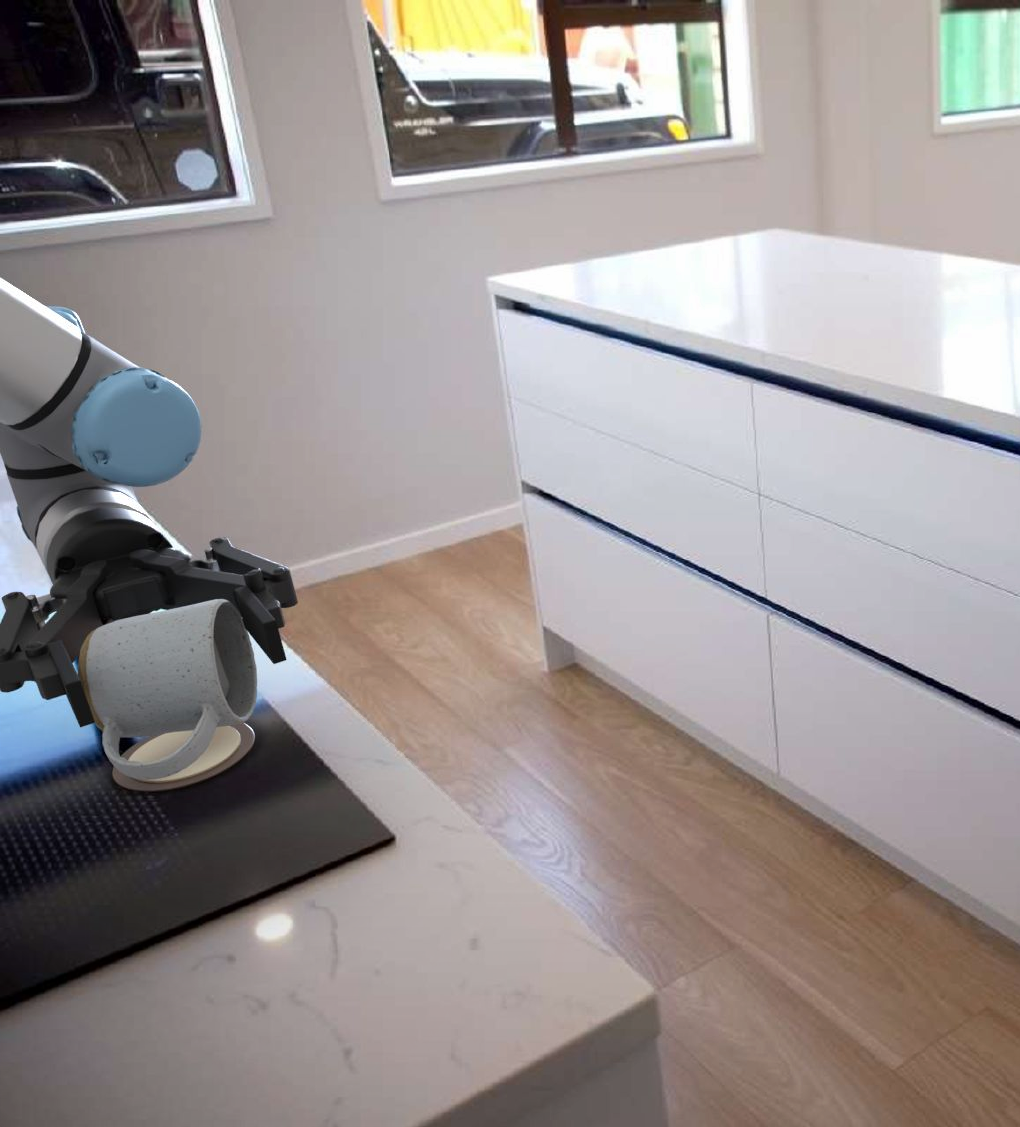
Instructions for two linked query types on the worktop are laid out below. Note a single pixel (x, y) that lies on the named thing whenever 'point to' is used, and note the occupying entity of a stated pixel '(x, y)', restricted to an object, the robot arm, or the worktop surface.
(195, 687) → the ceramic mug
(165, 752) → the cream coaster
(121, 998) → the worktop surface
